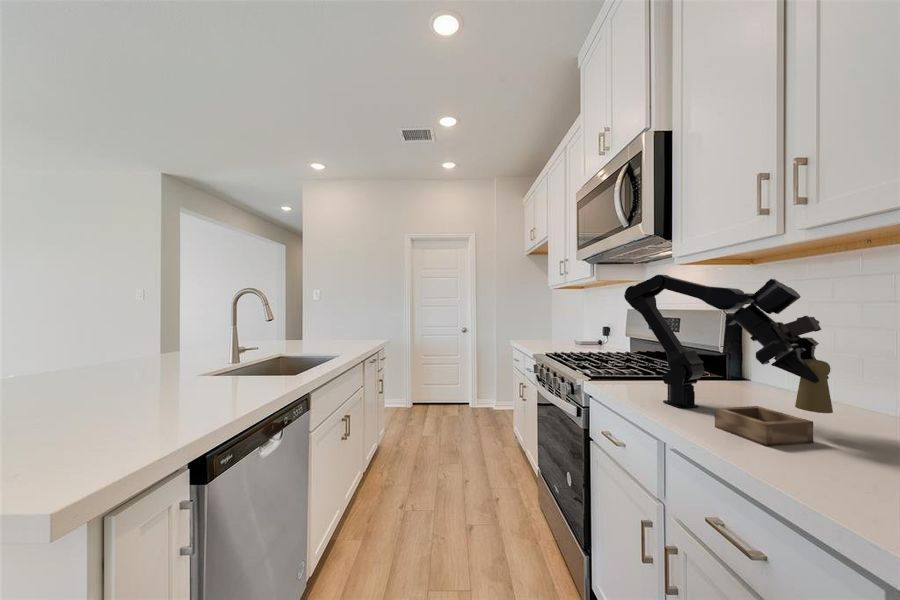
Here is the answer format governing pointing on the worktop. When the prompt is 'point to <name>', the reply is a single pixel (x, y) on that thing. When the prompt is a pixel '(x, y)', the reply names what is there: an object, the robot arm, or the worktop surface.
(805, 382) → the cork
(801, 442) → the socket block
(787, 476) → the worktop surface
